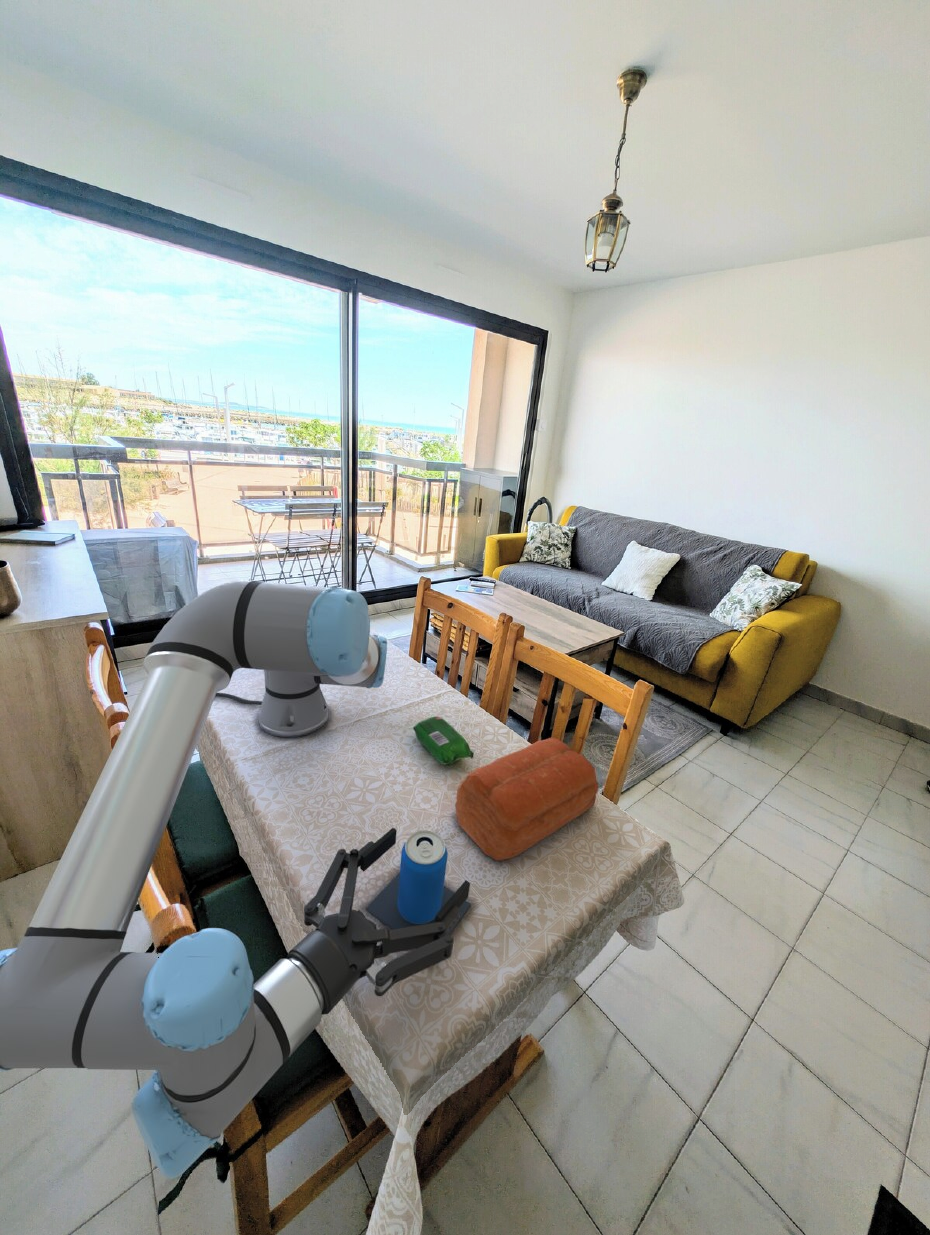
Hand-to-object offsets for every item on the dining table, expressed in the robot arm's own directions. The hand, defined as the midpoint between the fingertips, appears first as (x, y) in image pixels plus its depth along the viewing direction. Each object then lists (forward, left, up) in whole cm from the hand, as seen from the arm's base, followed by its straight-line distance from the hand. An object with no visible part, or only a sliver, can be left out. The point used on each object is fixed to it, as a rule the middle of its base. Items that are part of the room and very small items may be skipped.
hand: (429, 860), depth 68 cm
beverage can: (0, -1, -8) cm, 8 cm away
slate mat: (0, -1, -9) cm, 9 cm away
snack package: (-19, +31, -9) cm, 37 cm away
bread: (+4, +27, -9) cm, 28 cm away
